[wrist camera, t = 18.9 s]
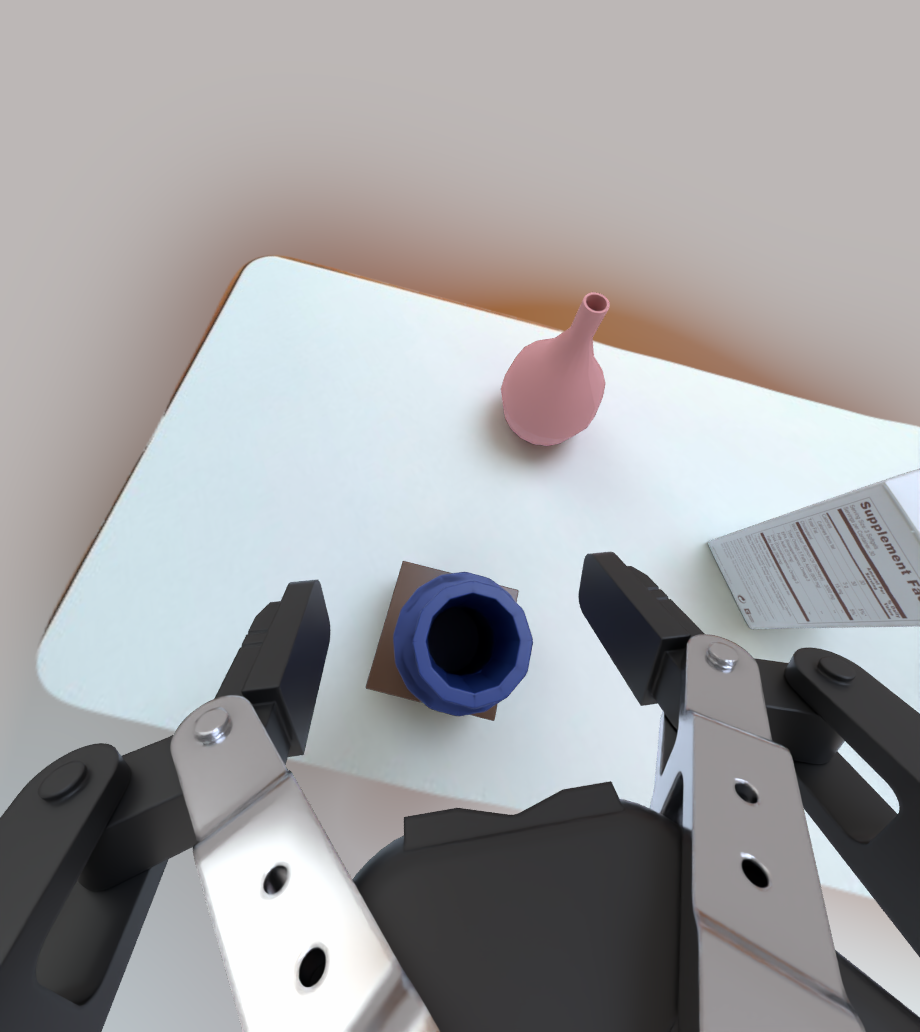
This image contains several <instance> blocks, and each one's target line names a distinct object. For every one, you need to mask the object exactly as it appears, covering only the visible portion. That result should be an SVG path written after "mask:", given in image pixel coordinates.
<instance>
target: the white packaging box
mask: <svg viewBox="0 0 920 1032" xmlns="http://www.w3.org/2000/svg"><path fill="white" fill-rule="evenodd" d="M708 544H709V547H710V549H711V551H712V554H713V556H714V558H715V560H716V562H717V564H718V566H719V568H720V570H721V572H722V574H723V576H724V578H725V580H726V582H727V584H728V586H729V588H730V590H731V592H732V594H733V597H734V599H735V601H736V603H737V605H738V607H739V609H740V611H741V612H742V614H743V617H744V619H745V621H746V622H747V624H748V626H749V627H750V628H751V629H778V628H835V627H905V626H920V469H917V470H914V471H910V472H907V473H904V474H901V475H898V476H895V477H892V478H889V479H886V480H883V481H880V482H877V483H874V484H871V485H868V486H865V487H862V488H859V489H857V490H854V491H851V492H848V493H845V494H842V495H839V496H836V497H833V498H830V499H827V500H824V501H822V502H819V503H816V504H813V505H810V506H807V507H804V508H801V509H799V510H796V511H793V512H790V513H787V514H784V515H781V516H779V517H776V518H773V519H770V520H767V521H764V522H761V523H759V524H756V525H753V526H750V527H747V528H744V529H742V530H739V531H736V532H733V533H730V534H727V535H725V536H722V537H719V538H716V539H713V540H710V541H708Z"/></svg>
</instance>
